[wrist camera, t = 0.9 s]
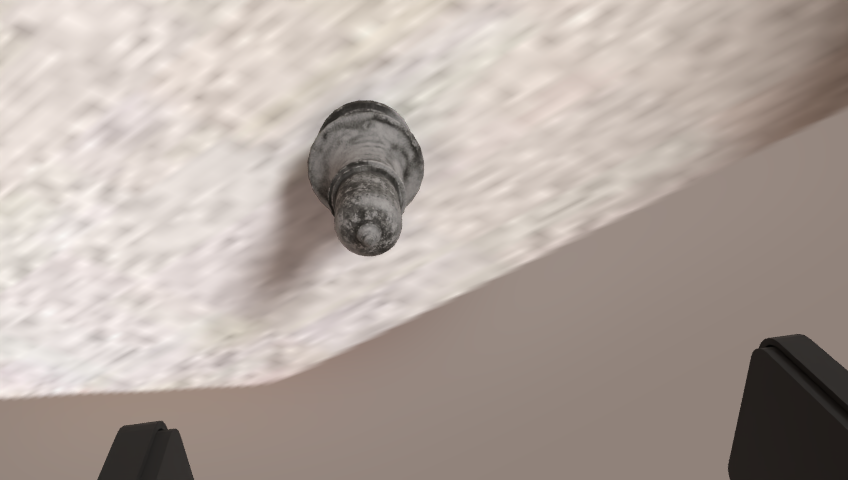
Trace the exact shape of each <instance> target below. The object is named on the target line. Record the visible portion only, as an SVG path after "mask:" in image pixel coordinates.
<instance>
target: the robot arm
mask: <svg viewBox="0 0 848 480" xmlns="http://www.w3.org/2000/svg"><path fill="white" fill-rule="evenodd" d="M728 472H729V477H730V480H848V371H847V370H846V369H845V368H844V367H843V366H842V365H840V364H839V363H838V362H837V361H835V360H834V359H833V358H832V357H831V356H829V354H827V353H826V352H825V351H824V350H823V349H821V348H820V347H819V346H818V345H817V344H815V343H814V342H813V341H812V340H811V339H809V338H808V337H806V336H805V335H801V334H795V335H787V336H780V337H773V338H767V339H764V340H763V341H762V342H761V344H760V346H759V348H758V349H755V350H754V351H753V353H752V356H751V360H750V365H749V370H748V375H747V379H746V384H745V389H744V393H743V398H742V403H741V408H740V412H739V417H738V422H737V427H736V431H735V436H734V440H733V445H732V450H731V455H730V459H729V464H728ZM98 480H194V478H193V475H192V472H191V469H190V465H189V462H188V459H187V455H186V452H185V449H184V446H183V443H182V439H181V436H180V433H179V431H178V430H177V429H169V430H168V429H167V427H166V425H165V423H164V422H163V421H156V422H148V423H142V424H134V425H126V426H123V427H122V428H120V430H119V431H118V433H117V435H116V437H115V440H114V442H113V444H112V447H111V449H110V451H109V454H108V456H107V458H106V461H105V463H104V465H103V468H102V470H101V473H100V475H99V477H98Z"/></svg>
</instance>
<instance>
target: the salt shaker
mask: <svg viewBox="0 0 848 480" xmlns="http://www.w3.org/2000/svg"><path fill="white" fill-rule="evenodd" d="M308 176H309V180H310V182H311V185H312V188H313V191H314V192H315V194H316V195H317V197H318V198H319V200H320V201H321V202H322V203H323V204H324V205H325V206H326V207H327V208H329V209H330V210H331V213H332V214H333V216H334V217H335V218H334V223H335V230H336V233H337V236H338V238H339V240H340V241H341V243H342V244H343V245H344V246H345V247H346V248H347V249H348V250H349V251H351V252H353V253H355V254H358V255H362V256H376V255H380V254H383V253H384V252H386V251H388V250H389V249H391V248H392V247H393V246H394V245H395V243H396V242H397V240H398V239H399V236H400V233H401V230H402V214H403V213H404V210H405V207H406V206H407V205H408V204H409V203H410V202H411V201H412V200H413V198H414V197H415V195H416V194H417V192H418V191H419V189H420V186H421V182H422V179H423V176H424V160H423V156H422V152H421V148H420V146H419V144H418V142H417V141H416V139H415V137H414V135H413V134H412V133H411V132H410V129H409V128H408V126H407V124H406V122H405V121H404V119H403V118H402V117H401V116H400V115H399V114H398V113H397V112H396V111H395V110H393V109H392V108H390V107H388V106H386V105H385V104H382V103H378V102H375V101H355V102H351V103H347V104H345V105H343V106H341V107H340V108H338V109H336V110H335V111H334V112H333V113H332V114H331V115H330V116H329V117H328V118H327V119H326V121H325V122H324V124H323V126H322V128H321V130H320V133H319V134H318V136H317V138H316V139H315V141H314V143H313V145H312V147H311V150H310V154H309V159H308Z"/></svg>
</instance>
